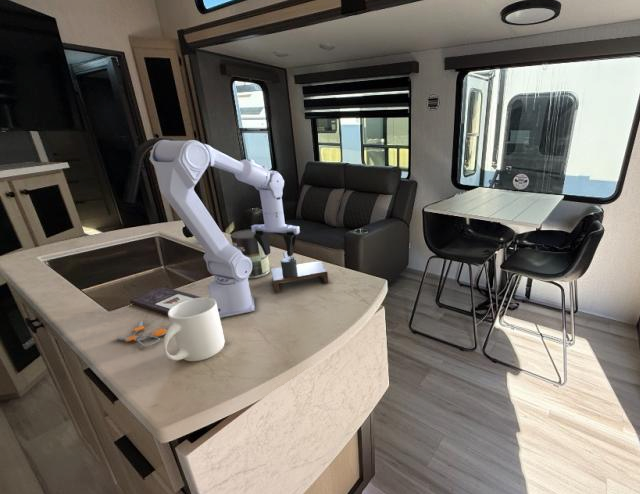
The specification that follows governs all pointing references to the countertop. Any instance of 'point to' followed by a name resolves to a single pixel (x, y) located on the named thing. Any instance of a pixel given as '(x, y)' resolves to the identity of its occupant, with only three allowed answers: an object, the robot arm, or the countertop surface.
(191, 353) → the mug
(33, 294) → the countertop surface
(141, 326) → the key chain
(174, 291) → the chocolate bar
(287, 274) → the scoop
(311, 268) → the shelf
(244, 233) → the coffee can
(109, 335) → the countertop surface
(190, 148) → the robot arm
